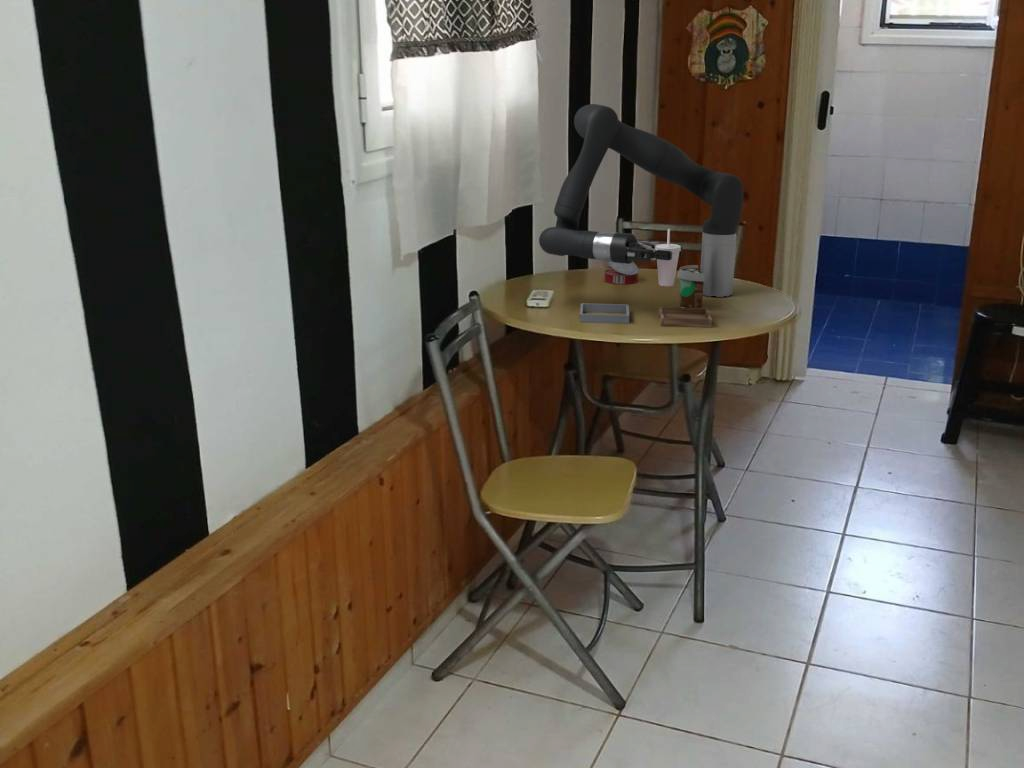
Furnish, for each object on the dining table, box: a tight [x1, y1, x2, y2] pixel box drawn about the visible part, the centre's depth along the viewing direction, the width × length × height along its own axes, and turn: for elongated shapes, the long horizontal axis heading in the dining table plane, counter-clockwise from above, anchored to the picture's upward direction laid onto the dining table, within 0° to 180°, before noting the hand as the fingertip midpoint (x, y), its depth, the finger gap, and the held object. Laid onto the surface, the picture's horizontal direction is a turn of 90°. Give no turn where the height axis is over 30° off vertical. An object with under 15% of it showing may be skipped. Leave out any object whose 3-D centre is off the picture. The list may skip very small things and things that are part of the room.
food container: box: [676, 264, 704, 308], centre depth 276 cm, size 12×6×10 cm, turn 178°
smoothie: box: [655, 228, 682, 287], centre depth 257 cm, size 6×6×14 cm
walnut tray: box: [658, 306, 713, 328], centre depth 261 cm, size 12×12×2 cm
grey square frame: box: [579, 302, 630, 324], centre depth 264 cm, size 12×12×2 cm
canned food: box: [604, 261, 639, 286], centre depth 307 cm, size 11×10×10 cm
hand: (676, 253), depth 256 cm, fingers closed on smoothie, 6 cm apart
